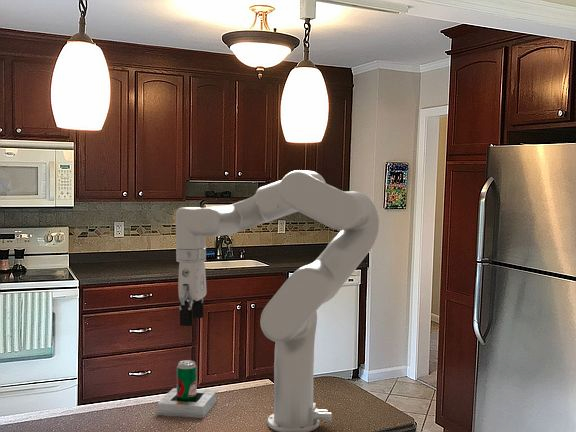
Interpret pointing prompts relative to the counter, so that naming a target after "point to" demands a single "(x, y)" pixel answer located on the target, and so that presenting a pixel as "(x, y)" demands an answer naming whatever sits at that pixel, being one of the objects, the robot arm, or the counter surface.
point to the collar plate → (186, 404)
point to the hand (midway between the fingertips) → (192, 321)
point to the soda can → (187, 381)
